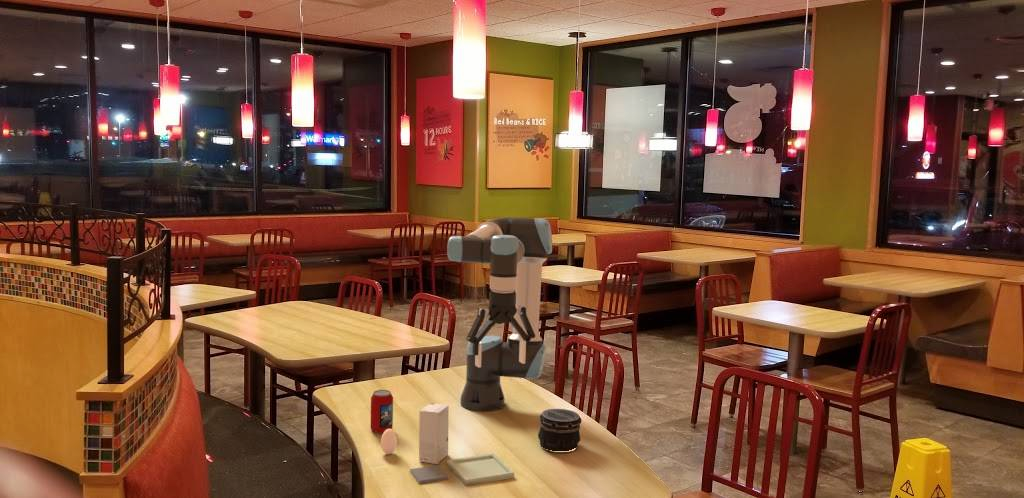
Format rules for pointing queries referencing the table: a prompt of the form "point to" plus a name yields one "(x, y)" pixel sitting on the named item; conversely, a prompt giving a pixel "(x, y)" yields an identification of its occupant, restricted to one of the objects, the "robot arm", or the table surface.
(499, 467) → the tray
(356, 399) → the table surface
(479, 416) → the table surface
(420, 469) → the pad
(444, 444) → the skincare box
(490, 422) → the table surface
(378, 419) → the beverage can
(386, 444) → the egg
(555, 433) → the container
